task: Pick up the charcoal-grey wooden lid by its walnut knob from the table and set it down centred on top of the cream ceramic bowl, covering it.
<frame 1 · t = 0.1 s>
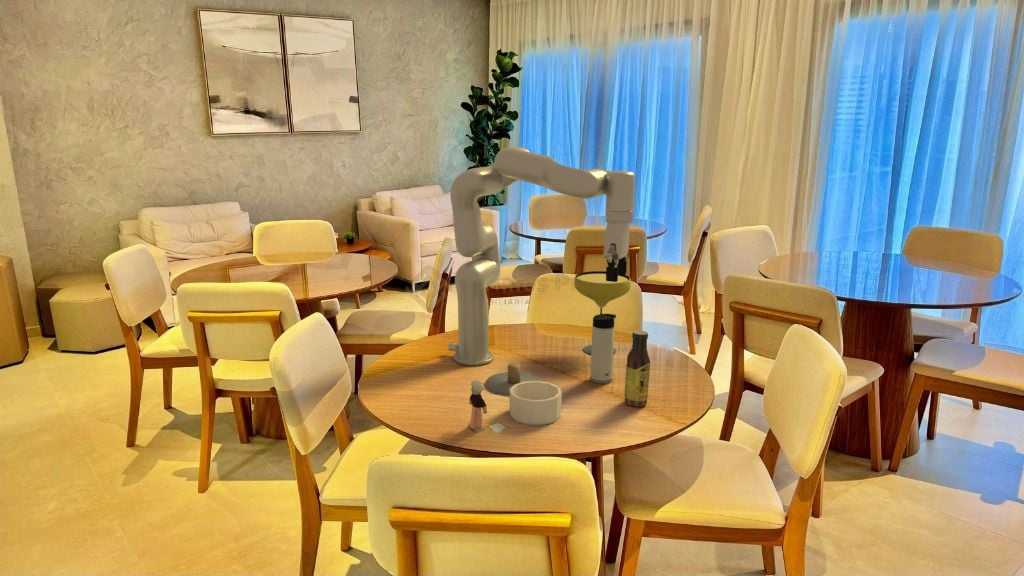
hand: (616, 277, 186), 31 cm above the table, tool pointing down, fingers open, 9 cm apart
lid: (513, 385, 191), on the table
grandmother figurine: (477, 429, 163), on the table
travel mug: (601, 380, 195), on the table
bowl: (535, 414, 172), on the table
cocktail glass: (599, 351, 220), on the table
sauce bottle: (635, 403, 179), on the table
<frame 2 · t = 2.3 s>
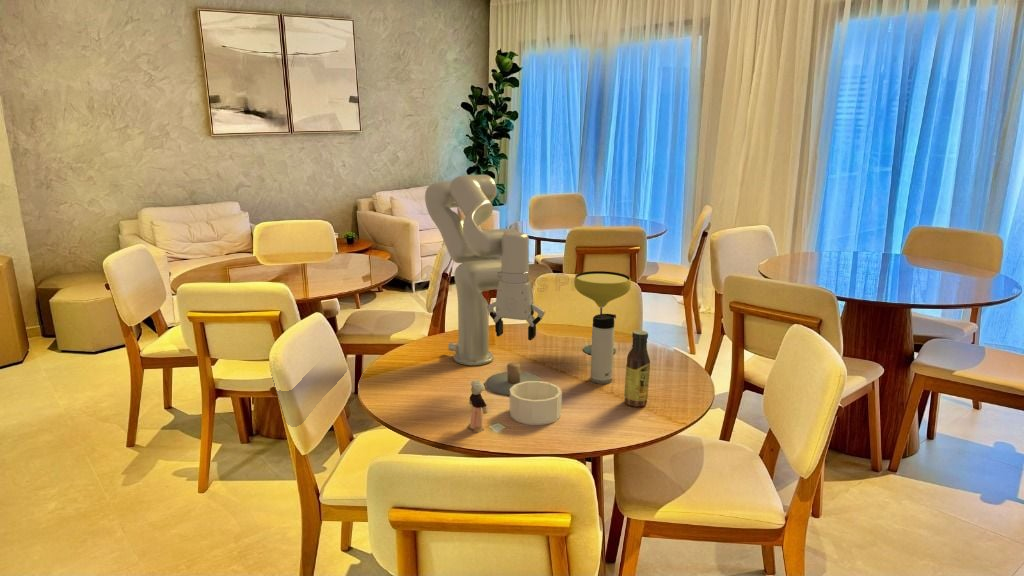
hand: (515, 337, 187), 15 cm above the table, tool pointing down, fingers open, 9 cm apart
nothing on the table moved.
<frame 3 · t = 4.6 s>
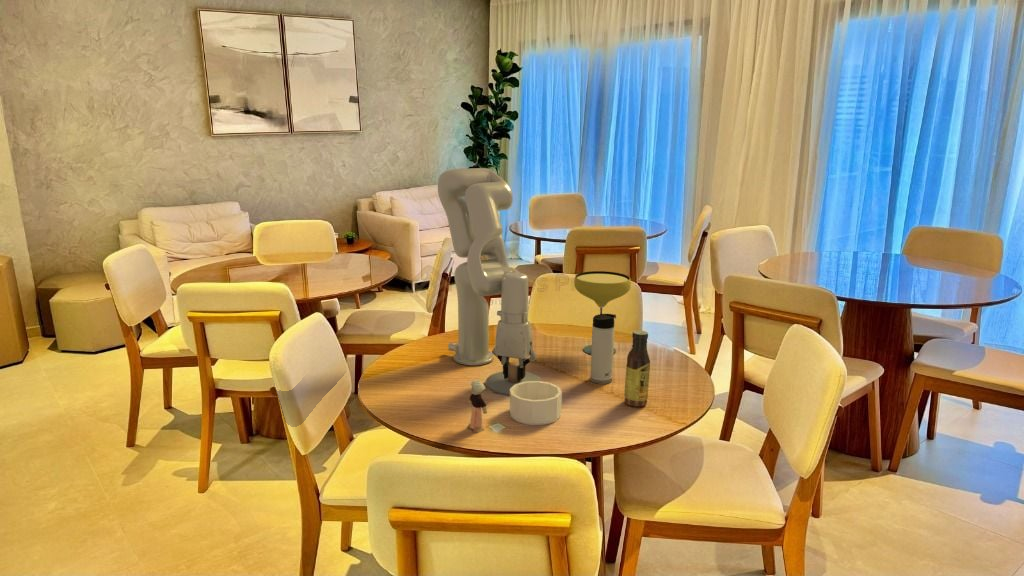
hand: (514, 377, 190), 2 cm above the table, tool pointing down, fingers closed on lid, 3 cm apart
lid: (513, 384, 191), on the table, touching gripper
everything else where it was.
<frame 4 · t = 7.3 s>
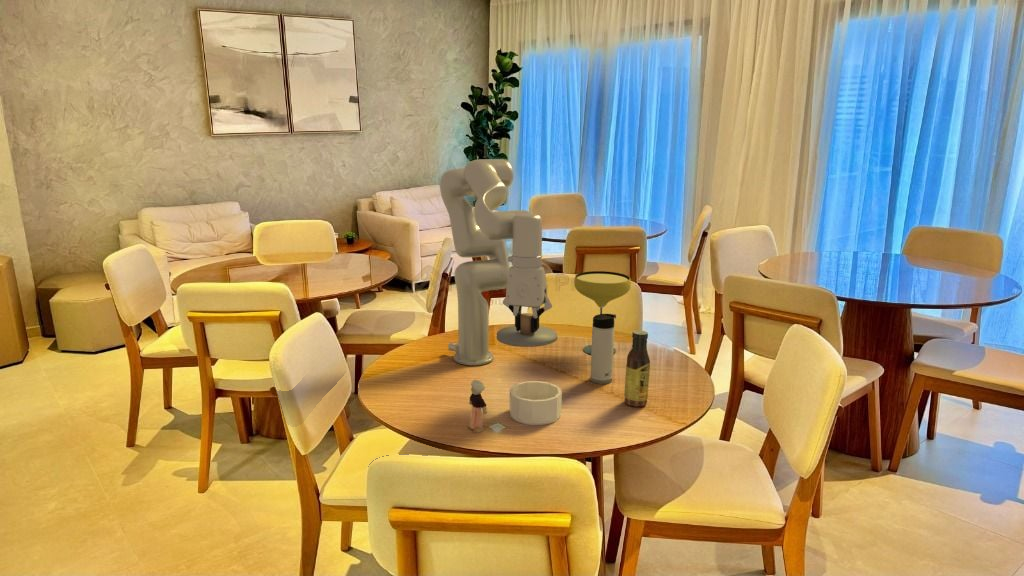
hand: (527, 330, 175), 20 cm above the table, tool pointing down, fingers closed on lid, 3 cm apart
lid: (527, 337, 176), point 18 cm above the table, touching gripper
everything else where it was.
when the fingers open (10 cm above the table, at t = 10.3 s): lid drops 1 cm, resting on bowl.
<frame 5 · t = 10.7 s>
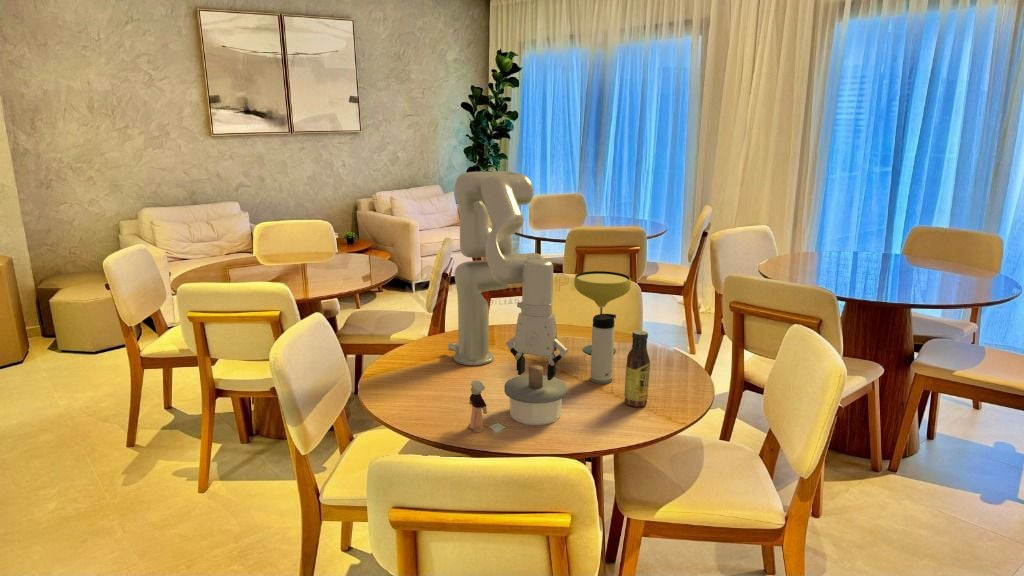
hand: (535, 375, 169), 11 cm above the table, tool pointing down, fingers open, 7 cm apart
lid: (535, 390, 170), point 6 cm above the table, touching bowl
everything else where it was.
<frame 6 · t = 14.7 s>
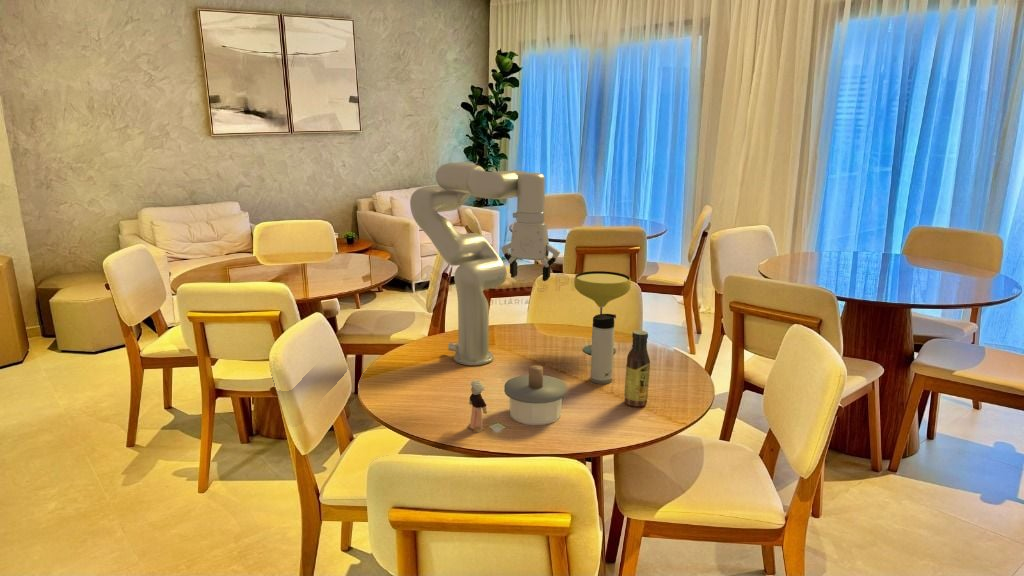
hand: (529, 278, 188), 30 cm above the table, tool pointing down, fingers open, 9 cm apart
nothing on the table moved.
at the end: lid 0.1 cm off-centre on the bowl, point 6.5 cm above the bowl's base; lid tilted 0°; the gripper is holding nothing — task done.
